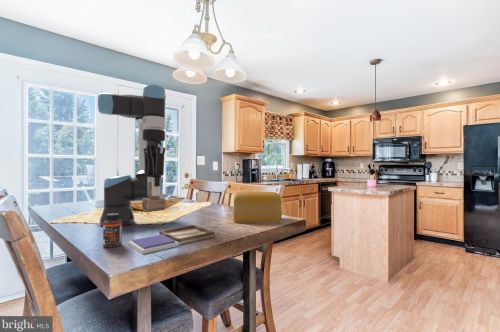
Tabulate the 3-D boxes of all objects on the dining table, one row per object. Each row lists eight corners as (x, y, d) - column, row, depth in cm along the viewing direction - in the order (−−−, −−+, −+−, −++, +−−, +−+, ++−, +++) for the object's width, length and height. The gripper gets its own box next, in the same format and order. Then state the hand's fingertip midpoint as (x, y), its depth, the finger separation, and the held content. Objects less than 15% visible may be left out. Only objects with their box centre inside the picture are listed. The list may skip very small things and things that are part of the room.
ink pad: (128, 244, 94) (128, 239, 94) (163, 238, 103) (163, 233, 103) (142, 254, 85) (142, 248, 85) (178, 245, 94) (178, 240, 94)
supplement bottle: (101, 249, 90) (102, 216, 89) (103, 244, 95) (104, 213, 95) (121, 246, 92) (121, 214, 92) (122, 242, 97) (122, 211, 97)
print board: (159, 235, 107) (159, 231, 107) (193, 229, 118) (193, 225, 118) (178, 244, 95) (178, 239, 95) (214, 236, 106) (214, 231, 106)
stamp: (142, 209, 94) (142, 181, 94) (158, 207, 98) (158, 181, 98) (148, 211, 90) (148, 182, 90) (165, 209, 94) (165, 182, 94)
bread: (233, 223, 130) (233, 193, 130) (233, 218, 143) (233, 190, 143) (281, 223, 132) (282, 193, 132) (277, 217, 145) (277, 190, 144)
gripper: (135, 130, 97) (134, 194, 97) (153, 126, 85) (152, 198, 85) (154, 132, 102) (154, 192, 102) (174, 128, 90) (174, 196, 90)
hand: (153, 195), depth 94 cm, fingers closed on stamp, 3 cm apart
